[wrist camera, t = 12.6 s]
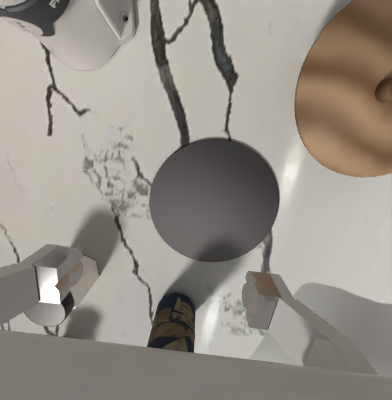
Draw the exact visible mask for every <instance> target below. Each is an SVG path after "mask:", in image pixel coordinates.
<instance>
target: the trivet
mask: <svg viewBox="0 0 392 400" xmlns="http://www.w3.org/2000/svg"><path fill="white" fill-rule="evenodd" d="M149 205H150V213H151V217H152V220H153V223H154V226H155V228H156V229H157V231H158V233H159V234H160V236H161V237H162V239H163V240H164V241H165V242H166V243H167V244H168V245H169V246H170V247H172V248H173V249H174V250H175V251H177V252H179V253H180V254H182V255H184V256H186V257H189V258H192V259H195V260H199V261H206V262H220V261H227V260H231V259H234V258H237V257H240V256H242V255H244V254H246V253H248V252H249V251H251V250H252V249H254V248H255V247H256V246H257V245H258V244H260V243H261V241H262V240H263V239H264V238H265V237H266V236H267V234H268V233H269V231H270V230H271V228H272V226H273V224H274V221H275V219H276V216H277V212H278V205H279V193H278V187H277V183H276V180H275V177H274V175H273V173H272V171H271V169H270V168H269V167H268V165H267V164H266V162H265V161H264V160H263V159H262V158H261V157H260V156H259V155H257V154H256V153H255V152H254V151H252V150H251V149H249V148H247V147H245V146H243V145H241V144H238V143H236V142H232V141H228V140H219V139H215V140H204V141H199V142H195V143H192V144H190V145H187V146H185V147H183V148H181V149H180V150H178V151H177V152H175V153H174V154H173V155H172V156H170V157H169V158H168V159H167V160H166V161H165V162H164V164H163V165H162V166H161V168H160V169H159V171H158V172H157V174H156V176H155V178H154V180H153V183H152V187H151V191H150V201H149Z"/></svg>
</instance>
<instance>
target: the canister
mask: <svg viewBox="0 0 392 400" xmlns="http://www.w3.org/2000/svg"><path fill="white" fill-rule="evenodd" d="M194 340H195V307H194V304H193V303H192V301H191V300H190V299H189V298H187V297H186V296H184V295H180V294H172V295H168V296H166V297H164V298H163V299H162V300H161V301H160V302H159V304H158V307H157V311H156V315H155V318H154V322H153V326H152V329H151V333H150V337H149V341H148V345H147V347H150V348H158V349H167V350H175V351H183V352H191V353H194Z"/></svg>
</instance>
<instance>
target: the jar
mask: <svg viewBox="0 0 392 400" xmlns="http://www.w3.org/2000/svg"><path fill="white" fill-rule="evenodd" d="M80 261H81V262H82V263H83V274H82V276H81V278H80V280H79V281H78V283H77V284H76V285H74V286H72V287H70V292H69V293H68V295H67V296H66V297H65V298H64V299H63V300H62V302H61V303H60V304H59V303H48V302H39V303H38V304H36V305H35V306H33V307H31V308H30V309H28V310H26V311H24V314H25V315H26V316H27V317H28V318H29V319H30V320H31V321H33V322H34V323H36V324H39V325H42V326H47V327H52V326H56V325H59V324H61V323H62V322H63V321H64V320H65V319H66V317H67V316H68V315H69V313H70V312H71V311H72V310H73V309H75V308H77V306H78V305H79V303H80V302H81V301H82V299H83V298H84V297H85V295H86V294H87V293H88V291H89V290H90V289H91V287H92V286H93V284H94V283H95V282H96V280H97V279H98V278H99V273H98V268H97V263H96V261H95V260H93V259H91V258H89V257H87V256H85V255H83V257H82V258H81V259H80Z"/></svg>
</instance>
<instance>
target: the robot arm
mask: <svg viewBox="0 0 392 400" xmlns="http://www.w3.org/2000/svg"><path fill="white" fill-rule="evenodd" d="M0 17H2V19H4V20H5V21H7V22H8V23H10V24H12V25H14V26H15V27H17V28H19V29H21V30H23V31H25V32H27V33H30V34H32V35H33V36H34V37H35V38H37V39H38V40H39V41H40V42H41V43H42V44H43V45H44V46H45V47H46V48H47V49H48V50H49V51H50V52H51V54H52V55H53V56H54V57H56V58H57V59H58V60H59V61H60V62H62V63H63V64H65V65H67V66H69V67H72V68H75V69H80V70H90V69H94V68H97V67H100V66H102V65H103V64H105V63H106V62H107V61H108V60H109V59H110V58H111V57H112V56H113V54H114V53H115V51H116V50H117V48H118V47H119V46H120V45H121V44H123V43H125V42H126V41H128V40H130V39H131V38H132V37H133V36H134V34H135V19H134V9H133V0H0ZM126 17H127V18H128V20H127V21H124V19H125V18H126ZM82 257H83V251H82V250H81V249H80V248H73V247H67V246H59V245H53V244H47V245H45V246H44V247H42V248H41V249H39V250H38V251H36V252H35V253H33V254H32V255H31V256H29V257H28V258H26V259H25V260H23V261H22V262H20V263H19V264H12V265H8V266H5V267H2V268H0V326H1V325H2V324H4V323H6V322H7V321H9V320H11V319H13V318H14V317H16V316H18V315H19V314H21V313H23V312H24V311H26V310H28V309H30V308H31V307H33V306H35V305H36V304H38V303H39V302H48V303H59V304H60V303H61V302H62V300H63V299H64V298H65V297H66V296H67V295H68V293H69V292H70V287H72V286H74V285H76V284H77V283H78V281H79V280H80V278H81V276H82V274H83V263H82V262H81V261H80V259H81V258H82ZM245 278H246V281H247V283H245V284H244V285H243V289H242V302H243V306H244V307H245V308H246V309H247V310H246V318H247V321H248V325H249V327H251V328H258V329H264V330H268V332H269V333H270V334H271V335H272V337H273V338H274V339H275V341H276V342H277V343H278V344H279V345H280V347H281V348H282V349H283V350H284V352H285V353H286V354H287V355H288V356H289V358H290V359H291V360H292V361H293V363H294V364H295V365H291V364H283V363H274V362H266V361H258V360H249V359H241V358H232V357H224V356H216V355H208V354H200V353H191V352H183V351H175V350H167V349H158V348H150V347H141V346H133V345H125V344H116V343H108V342H100V341H91V340H83V339H75V338H66V337H58V336H50V335H41V334H33V333H24V332H16V331H8V330H0V400H392V377H391V376H382V375H378V373H377V372H376V371H375V369H374V368H373V367H372V366H371V364H370V363H369V362H368V360H367V359H366V357H365V356H364V355H363V353H362V352H361V351H360V349H359V348H358V347H357V345H356V344H355V343H354V342H353V341H352V340H350V339H349V338H347V337H346V336H345V335H343V334H342V333H341V332H339V331H338V330H337V329H336V328H334V327H333V326H332V325H330V324H329V323H328V322H326V321H325V320H324V319H322V318H321V317H319V316H318V315H317V314H315V313H314V312H313V311H312V310H310V309H309V308H308V307H306V306H305V305H303V304H302V303H301V302H300V301H298V300H294V298H293V296H292V295H291V293H290V291H289V290H288V288H287V286H286V285H285V283H284V281H283V280H282V278H281V276H280V275H279V274H272V273H260V272H252V271H248V272H247V274H246V277H245Z"/></svg>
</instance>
